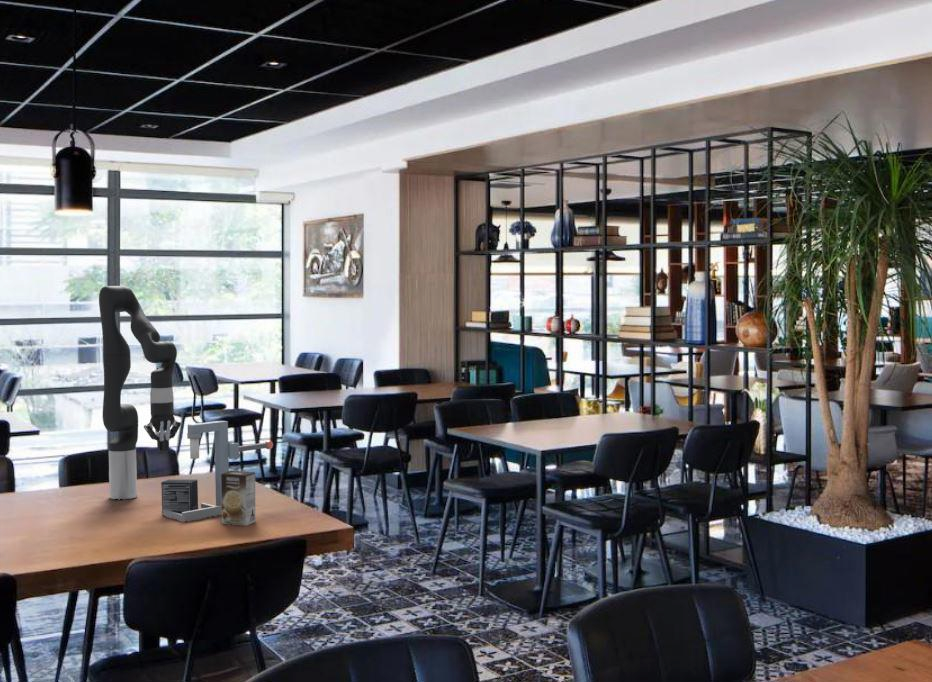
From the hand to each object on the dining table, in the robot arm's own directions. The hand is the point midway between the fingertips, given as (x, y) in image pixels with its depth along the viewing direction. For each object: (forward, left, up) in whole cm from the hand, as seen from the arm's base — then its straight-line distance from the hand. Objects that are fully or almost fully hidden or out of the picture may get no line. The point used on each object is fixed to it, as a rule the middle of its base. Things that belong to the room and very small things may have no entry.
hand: (163, 451), depth 347 cm
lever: (+21, +21, -1) cm, 29 cm away
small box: (+11, 0, -19) cm, 22 cm away
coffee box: (+40, +4, -19) cm, 44 cm away
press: (+19, +4, -19) cm, 27 cm away
